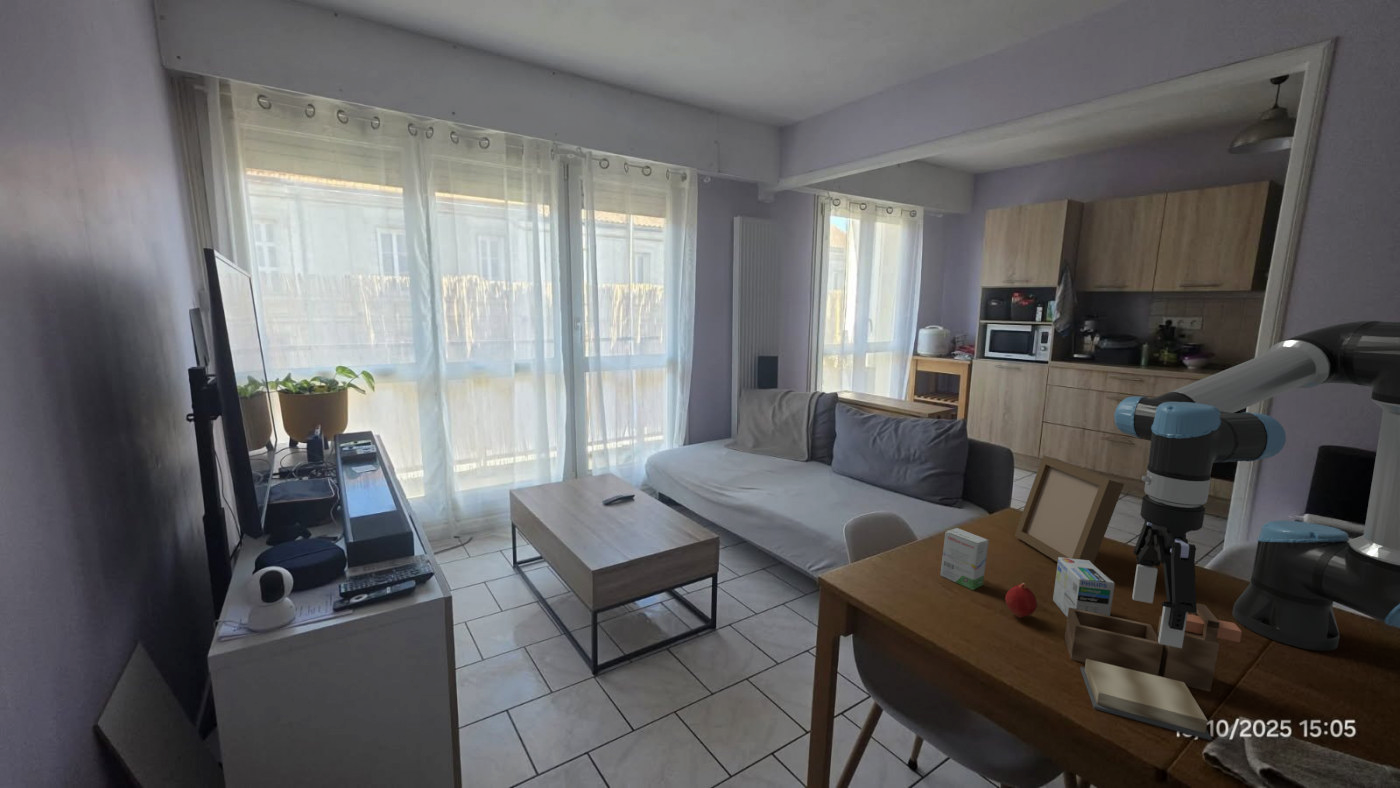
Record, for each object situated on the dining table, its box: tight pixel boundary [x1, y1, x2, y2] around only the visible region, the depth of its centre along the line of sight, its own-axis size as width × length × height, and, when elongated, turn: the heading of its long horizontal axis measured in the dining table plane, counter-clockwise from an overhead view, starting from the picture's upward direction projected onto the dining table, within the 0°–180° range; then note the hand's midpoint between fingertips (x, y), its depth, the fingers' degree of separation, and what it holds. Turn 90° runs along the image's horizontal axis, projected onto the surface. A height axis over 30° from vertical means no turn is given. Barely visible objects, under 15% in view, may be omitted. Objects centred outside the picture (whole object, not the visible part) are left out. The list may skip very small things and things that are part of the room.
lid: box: [1084, 659, 1209, 733], centre depth 91 cm, size 14×10×2 cm
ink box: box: [939, 527, 990, 591], centre depth 130 cm, size 9×5×12 cm, turn 34°
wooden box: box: [1064, 602, 1221, 692], centre depth 100 cm, size 20×7×13 cm, turn 65°
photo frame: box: [1014, 455, 1125, 565], centre depth 143 cm, size 15×22×25 cm
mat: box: [1080, 666, 1213, 741], centre depth 91 cm, size 15×11×1 cm
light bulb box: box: [1052, 557, 1115, 618], centre depth 116 cm, size 11×7×11 cm, turn 168°
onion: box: [1004, 582, 1038, 619], centre depth 115 cm, size 6×6×8 cm
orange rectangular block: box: [1185, 613, 1243, 643], centre depth 95 cm, size 8×3×2 cm, turn 65°
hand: (1155, 621), depth 89 cm, fingers open, 13 cm apart
